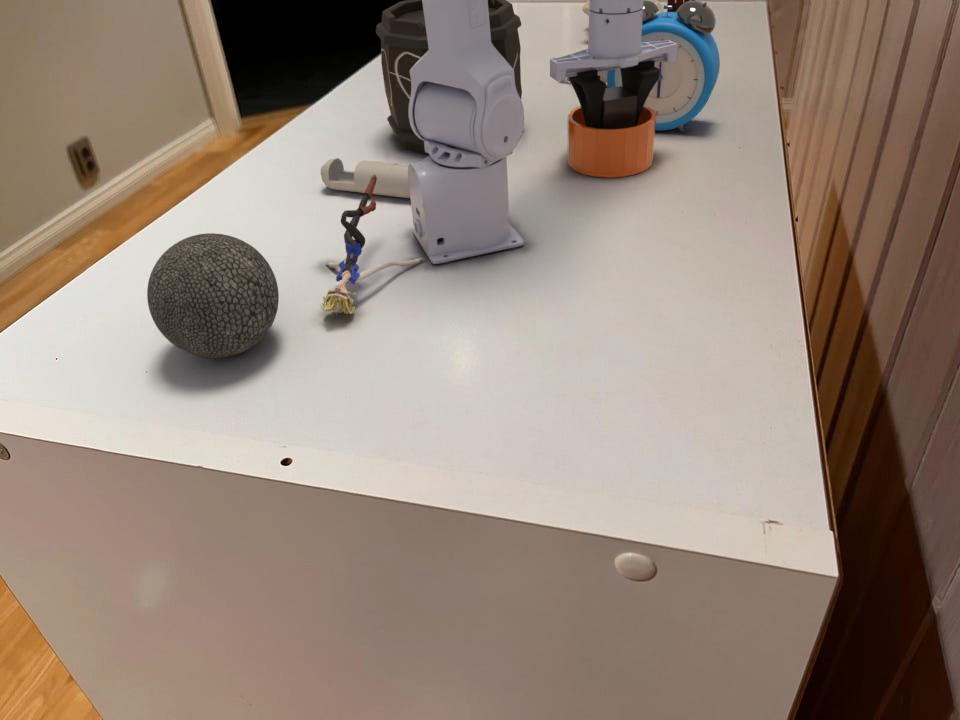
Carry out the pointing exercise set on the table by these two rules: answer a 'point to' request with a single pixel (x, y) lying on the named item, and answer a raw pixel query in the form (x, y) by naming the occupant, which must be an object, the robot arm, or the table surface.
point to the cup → (611, 146)
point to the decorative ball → (212, 295)
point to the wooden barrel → (410, 43)
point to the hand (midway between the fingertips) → (610, 133)
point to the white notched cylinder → (367, 177)
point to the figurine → (354, 256)
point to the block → (618, 109)
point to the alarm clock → (679, 62)
